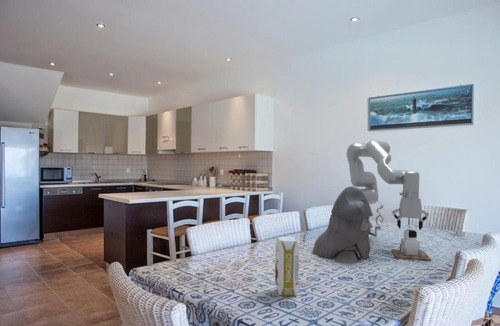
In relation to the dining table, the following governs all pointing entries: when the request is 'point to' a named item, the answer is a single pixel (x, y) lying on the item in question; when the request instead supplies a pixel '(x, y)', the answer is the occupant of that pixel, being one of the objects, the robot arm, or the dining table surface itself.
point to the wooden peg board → (400, 255)
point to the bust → (348, 228)
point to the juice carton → (287, 266)
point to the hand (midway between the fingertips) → (409, 228)
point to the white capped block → (410, 242)
